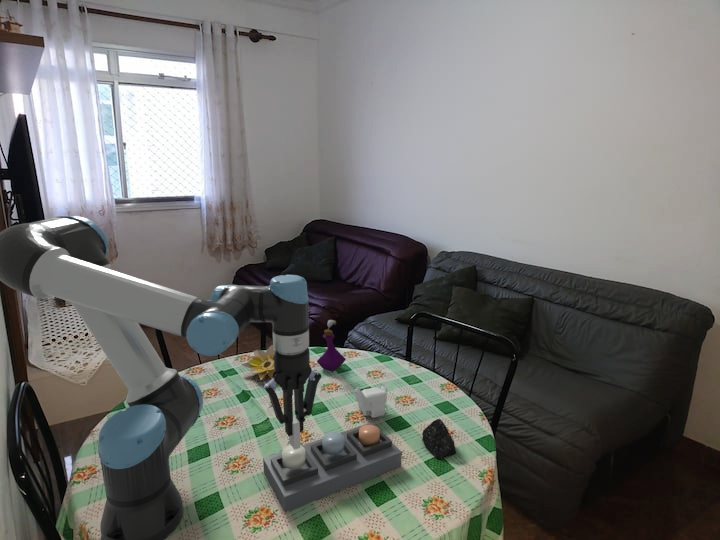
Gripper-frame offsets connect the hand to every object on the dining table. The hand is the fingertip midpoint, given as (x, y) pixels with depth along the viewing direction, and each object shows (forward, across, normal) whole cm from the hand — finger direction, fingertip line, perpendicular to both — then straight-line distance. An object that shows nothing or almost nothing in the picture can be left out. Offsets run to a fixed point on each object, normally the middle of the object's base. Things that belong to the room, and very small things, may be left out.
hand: (295, 445), depth 99 cm
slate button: (+4, +10, 0) cm, 11 cm away
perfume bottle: (+10, +33, +47) cm, 58 cm away
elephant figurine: (+11, +31, +16) cm, 36 cm away
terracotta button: (+6, +20, 0) cm, 20 cm away
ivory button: (+4, 0, 0) cm, 4 cm away
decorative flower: (+10, +11, +56) cm, 57 cm away
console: (+10, +10, 0) cm, 14 cm away
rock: (+11, +38, -5) cm, 40 cm away
